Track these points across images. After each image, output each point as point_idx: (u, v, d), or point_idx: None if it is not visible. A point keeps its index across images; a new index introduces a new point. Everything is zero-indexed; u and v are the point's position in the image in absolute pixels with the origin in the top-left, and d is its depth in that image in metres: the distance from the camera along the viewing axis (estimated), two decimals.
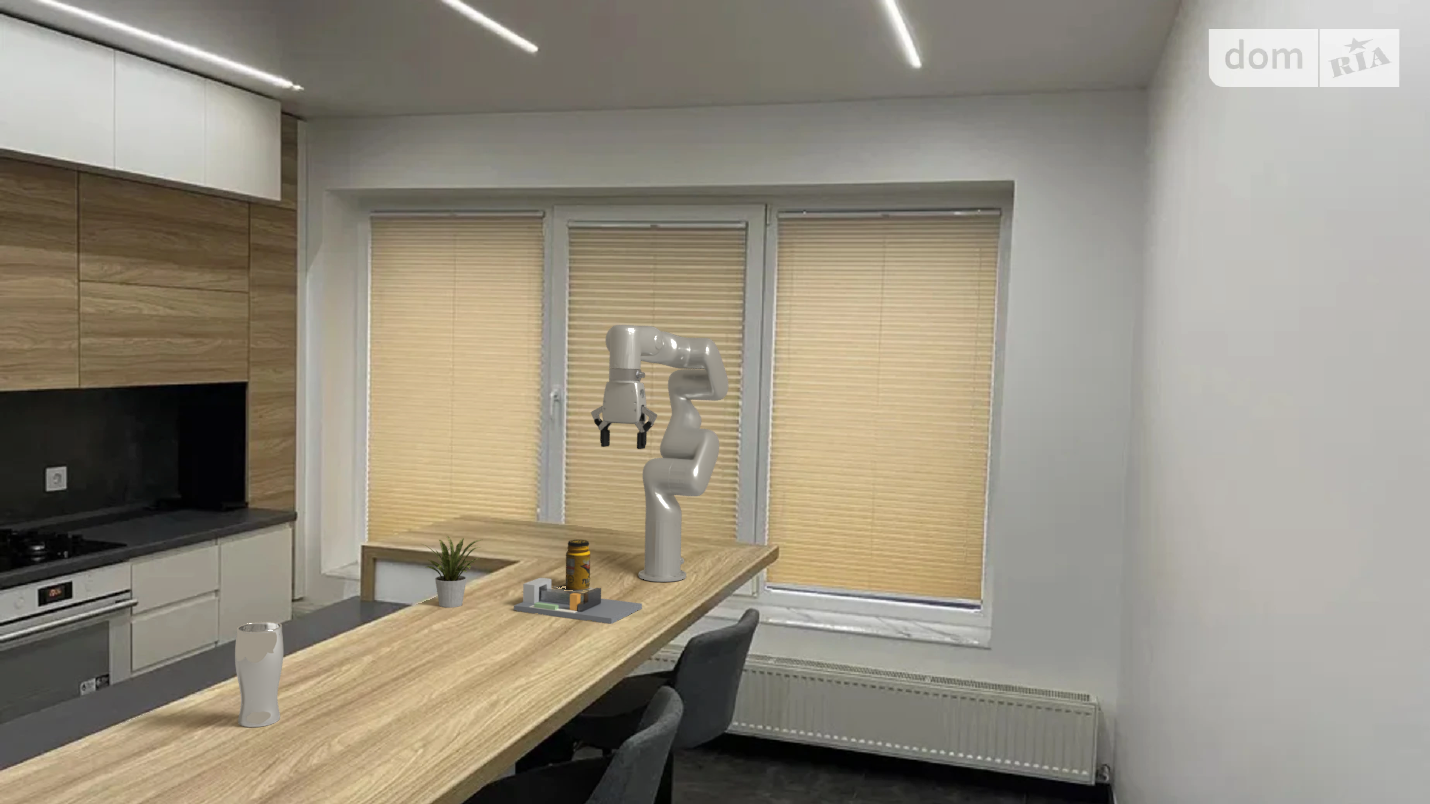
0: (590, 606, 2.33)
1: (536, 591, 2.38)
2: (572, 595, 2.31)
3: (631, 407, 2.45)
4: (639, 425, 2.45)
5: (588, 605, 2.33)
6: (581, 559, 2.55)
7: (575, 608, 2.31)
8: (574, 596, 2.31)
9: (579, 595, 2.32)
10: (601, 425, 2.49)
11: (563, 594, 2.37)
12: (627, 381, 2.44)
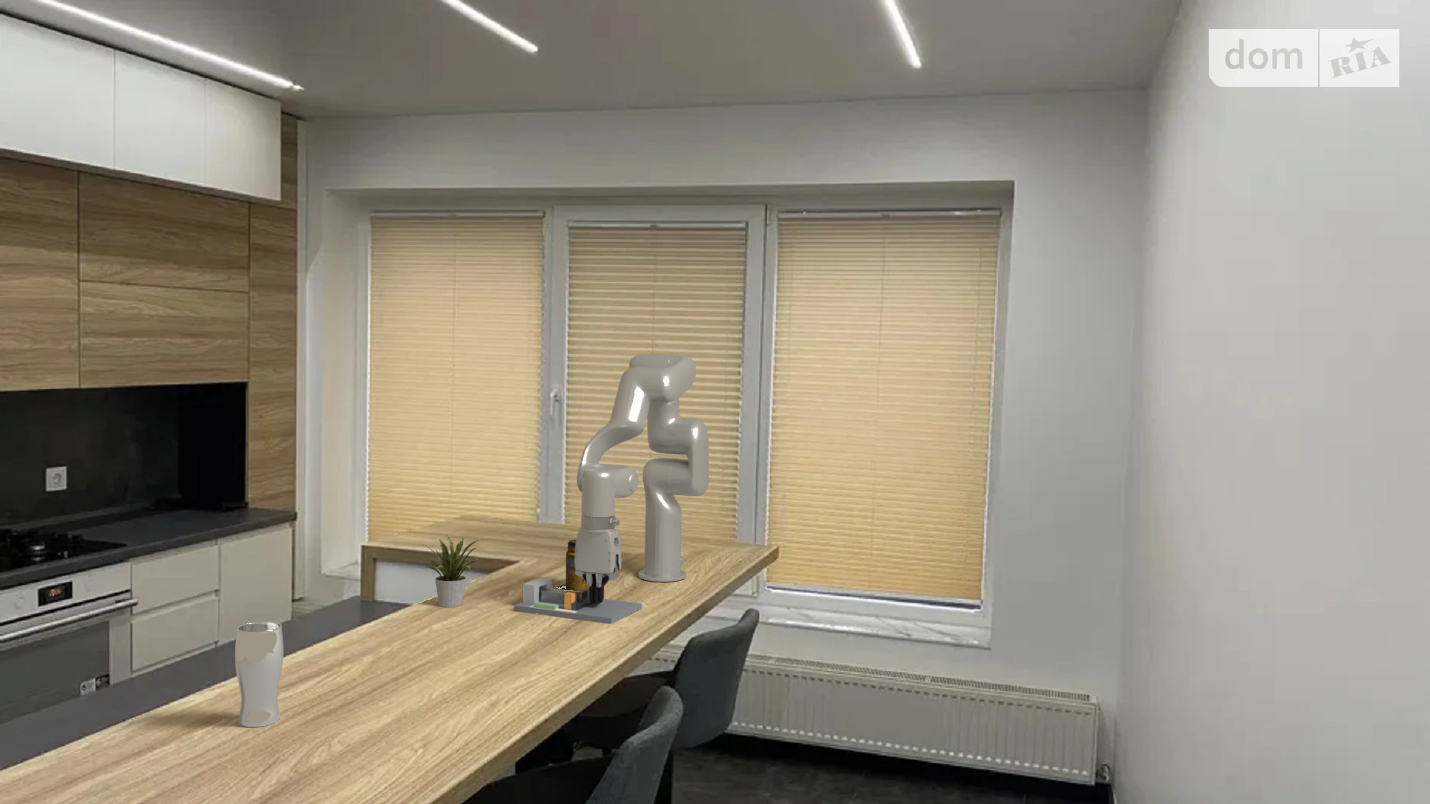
0: (583, 605, 2.34)
1: (536, 591, 2.38)
2: (567, 594, 2.32)
3: (605, 557, 2.31)
4: (600, 580, 2.33)
5: (581, 604, 2.33)
6: None
7: (570, 607, 2.31)
8: (569, 595, 2.31)
9: (574, 594, 2.32)
10: (588, 581, 2.34)
11: (557, 593, 2.38)
12: (600, 530, 2.31)
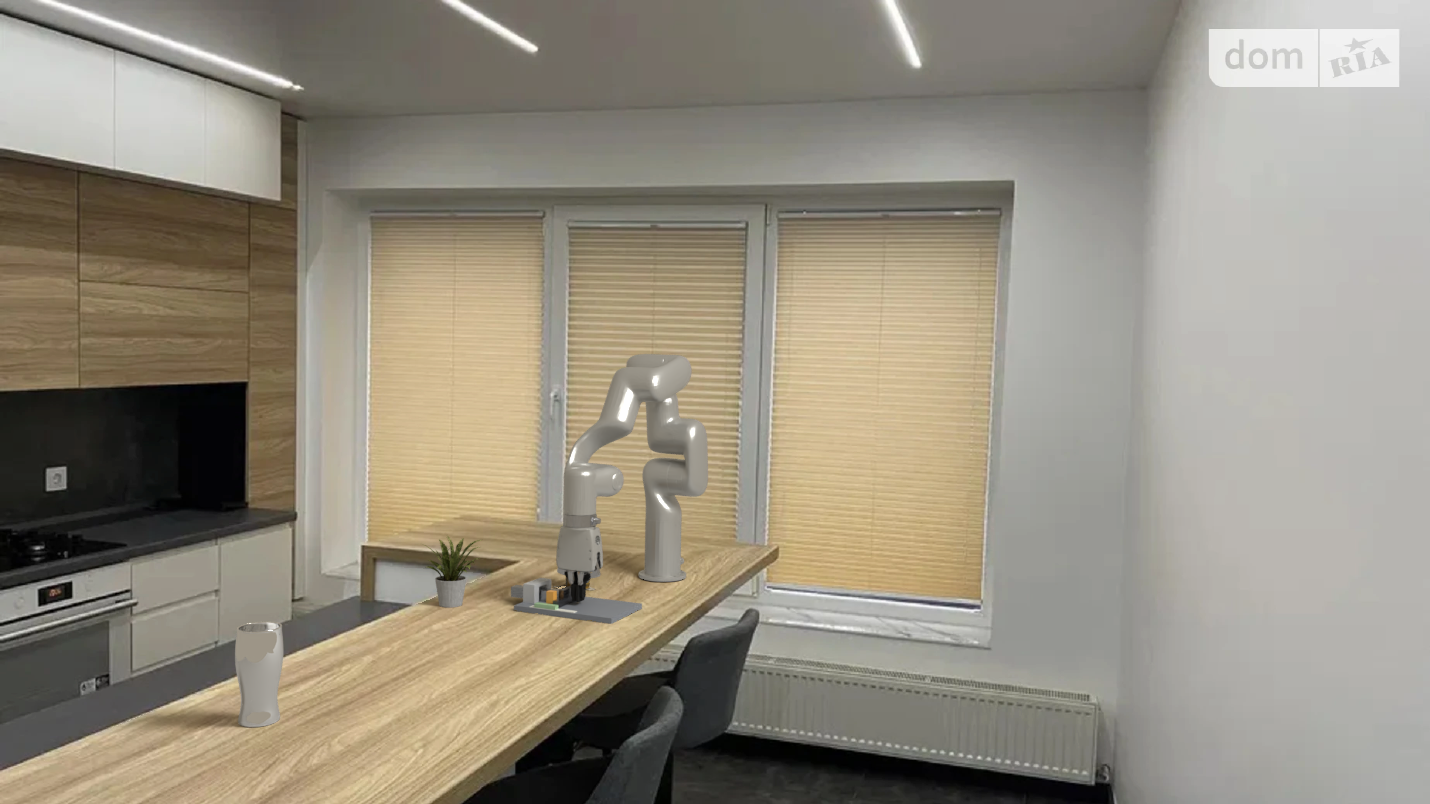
0: (565, 603, 2.36)
1: (536, 591, 2.38)
2: (548, 592, 2.33)
3: (586, 555, 2.33)
4: (581, 577, 2.35)
5: (563, 602, 2.35)
6: None
7: None
8: (550, 593, 2.33)
9: (555, 592, 2.34)
10: (570, 579, 2.36)
11: (539, 591, 2.39)
12: (581, 528, 2.32)
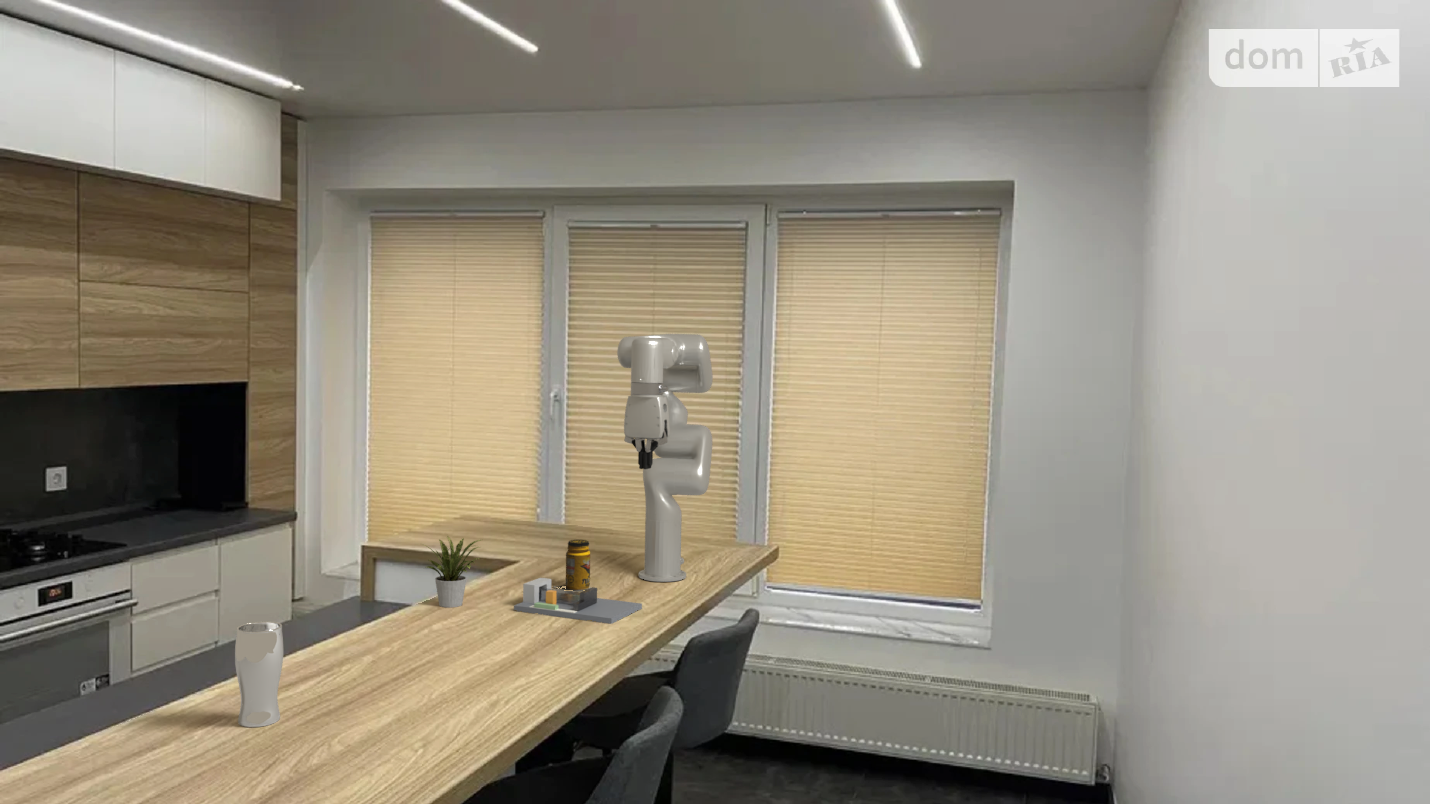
0: (586, 605, 2.34)
1: (536, 591, 2.38)
2: (548, 592, 2.33)
3: (654, 422, 2.39)
4: (649, 445, 2.40)
5: (584, 604, 2.33)
6: (581, 559, 2.55)
7: None
8: (550, 593, 2.33)
9: (555, 592, 2.34)
10: (637, 446, 2.42)
11: (559, 593, 2.37)
12: (650, 396, 2.38)
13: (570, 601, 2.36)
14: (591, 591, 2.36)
